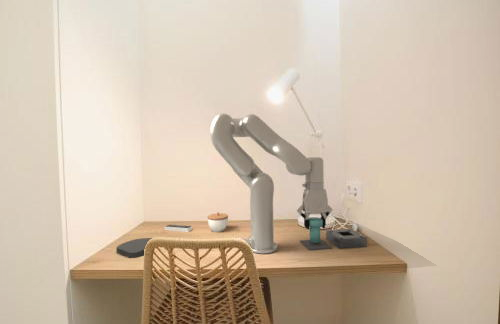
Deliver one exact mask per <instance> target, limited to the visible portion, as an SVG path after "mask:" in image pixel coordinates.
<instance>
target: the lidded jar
mask: <svg viewBox="0 0 500 324" xmlns="http://www.w3.org/2000/svg"><path fill="white" fill-rule="evenodd" d="M228 221H229V215H228V213H223V212H221V213H220V212H216V213H211V214H209V215H208V216H207V224H208V227H209V228H210V229H211V230H212V232H215V233H220V232H223V231H225V229H226V228H227V226H228V224H229V223H228Z"/></svg>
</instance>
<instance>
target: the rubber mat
mask: <svg viewBox="0 0 500 324" xmlns="http://www.w3.org/2000/svg"><path fill="white" fill-rule="evenodd" d="M299 242H300V243H301V244H302V246H304V247H305V248H306V249H307V250H308V251H316V250H329V249H330V250H331V249H333V246H332V245H330V244H328V242H326V241H324V240H323V239H322V238H321V242H320V243H313V242H310V239H303V240H301V239H300V241H299Z"/></svg>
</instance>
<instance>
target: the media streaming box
mask: <svg viewBox="0 0 500 324" xmlns="http://www.w3.org/2000/svg"><path fill="white" fill-rule="evenodd" d="M152 238H153V237H145V238H143V237H141V238H136V239H131V240H129V241H125V242H123V243H121V244H119V245H117V246H116V247H115V249H116V253H117V254H118V255H121V256H123V257H126V258H130V259H132V258H138V257H139V258H140V257H143V256H144V249H145V246H146V244H147V242H148V241H149V240H150V239H152Z"/></svg>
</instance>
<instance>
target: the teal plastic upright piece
mask: <svg viewBox="0 0 500 324" xmlns="http://www.w3.org/2000/svg"><path fill="white" fill-rule="evenodd" d="M308 220H309V240H310V242H313V243H320V242H321V239H322V238H321V228H322V227H321V226H323V219H321V217H316V216H315V217H314V216H312V217H310V216H309V218H308Z"/></svg>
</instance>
